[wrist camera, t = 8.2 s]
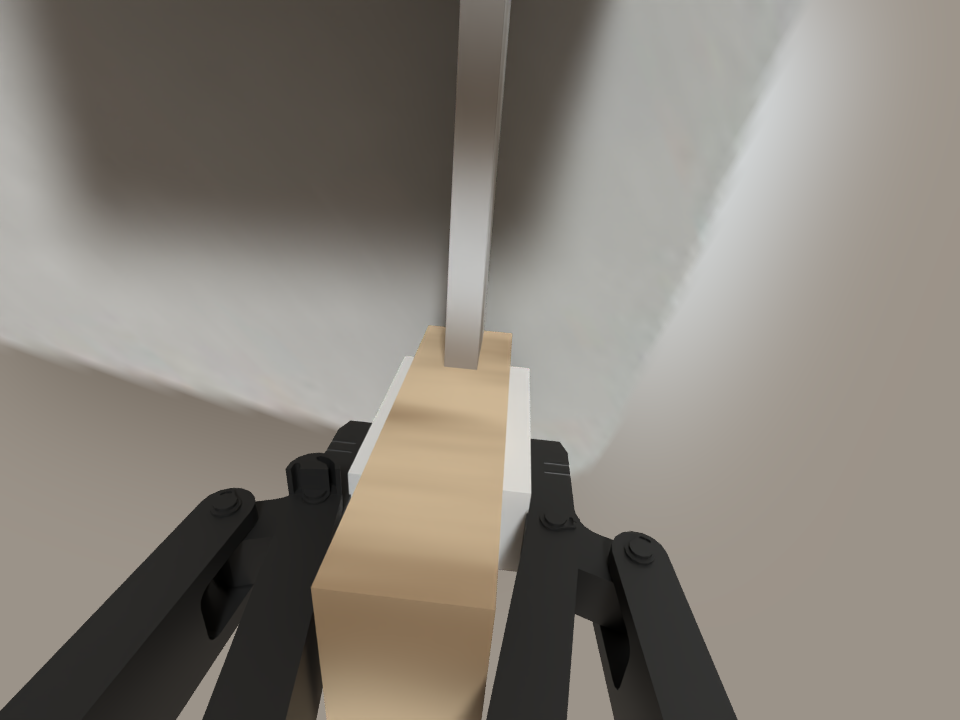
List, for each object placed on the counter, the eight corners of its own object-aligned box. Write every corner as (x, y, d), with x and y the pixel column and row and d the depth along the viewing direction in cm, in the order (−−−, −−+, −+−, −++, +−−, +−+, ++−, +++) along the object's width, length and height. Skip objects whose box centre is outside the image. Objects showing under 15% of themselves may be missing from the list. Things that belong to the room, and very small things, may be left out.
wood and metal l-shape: (499, 447, 20) (474, 771, 10) (425, 439, 20) (330, 752, 10) (567, -166, 12) (763, -1459, 2) (442, -174, 12) (68, -1428, 2)
